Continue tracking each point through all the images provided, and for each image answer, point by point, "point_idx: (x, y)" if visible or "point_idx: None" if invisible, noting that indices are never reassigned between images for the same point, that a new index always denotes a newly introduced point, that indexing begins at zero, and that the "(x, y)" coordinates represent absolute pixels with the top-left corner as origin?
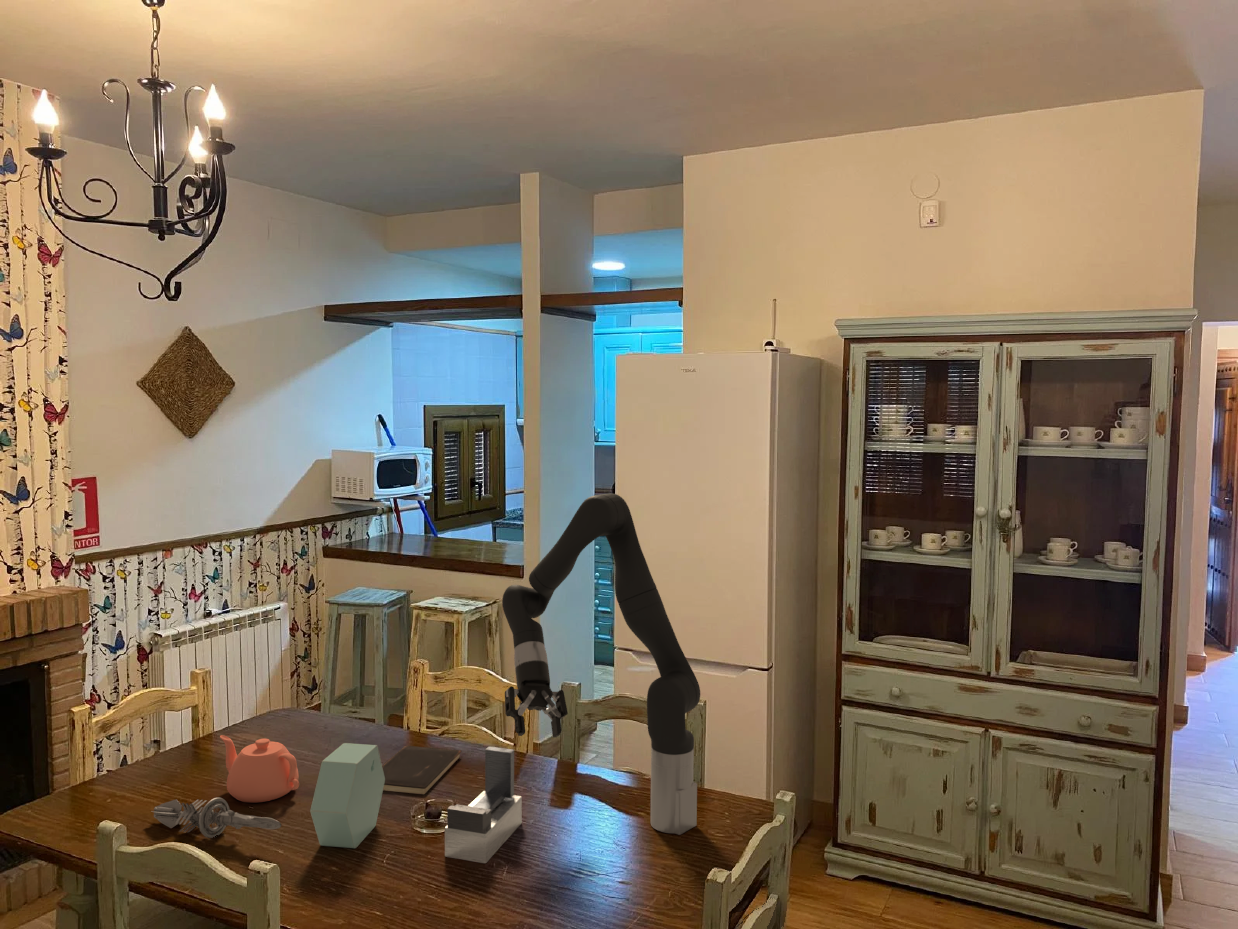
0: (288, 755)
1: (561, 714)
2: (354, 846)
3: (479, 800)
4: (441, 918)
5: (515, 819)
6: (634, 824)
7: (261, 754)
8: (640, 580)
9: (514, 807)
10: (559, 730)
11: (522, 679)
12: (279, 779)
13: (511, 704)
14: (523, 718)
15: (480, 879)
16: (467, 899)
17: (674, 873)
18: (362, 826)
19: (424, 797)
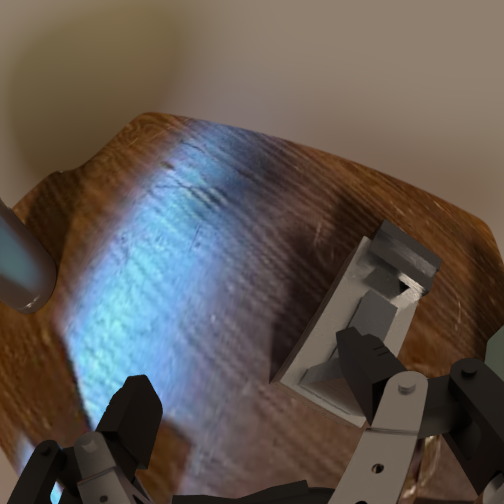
0: None
1: (70, 456)
2: (490, 338)
3: (384, 339)
4: (382, 173)
5: (290, 356)
6: (72, 303)
7: None
8: None
9: (300, 347)
10: (125, 383)
11: None
12: None
13: (498, 387)
14: (370, 371)
15: (350, 224)
16: (362, 191)
17: (104, 168)
18: (498, 357)
19: (416, 499)
